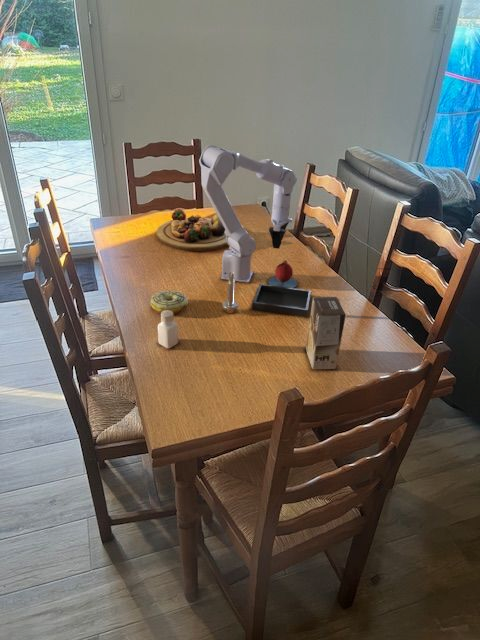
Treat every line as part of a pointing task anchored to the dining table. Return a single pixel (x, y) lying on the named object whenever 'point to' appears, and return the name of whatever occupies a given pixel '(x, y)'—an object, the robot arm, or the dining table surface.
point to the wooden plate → (192, 232)
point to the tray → (282, 300)
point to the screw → (230, 296)
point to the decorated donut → (168, 301)
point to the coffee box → (325, 332)
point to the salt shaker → (167, 330)
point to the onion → (284, 271)
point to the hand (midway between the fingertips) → (277, 243)
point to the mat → (275, 282)
